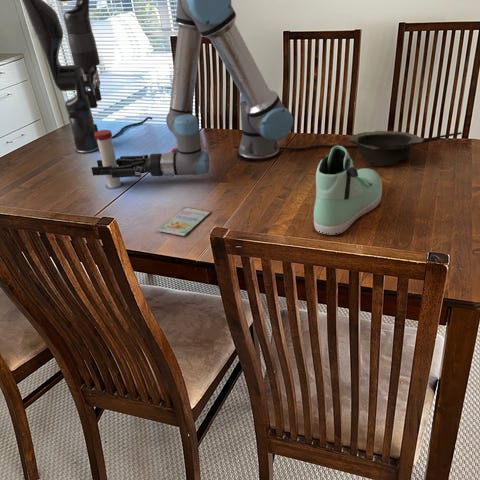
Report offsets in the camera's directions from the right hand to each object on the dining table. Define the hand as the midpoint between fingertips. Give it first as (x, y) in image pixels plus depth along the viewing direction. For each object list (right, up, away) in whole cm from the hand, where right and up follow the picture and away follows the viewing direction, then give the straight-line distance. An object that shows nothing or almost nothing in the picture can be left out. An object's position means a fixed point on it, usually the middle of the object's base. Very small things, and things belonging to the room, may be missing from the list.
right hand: (95, 167), depth 162 cm
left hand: (+4, +18, -12) cm, 22 cm away
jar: (+6, -6, +3) cm, 8 cm away
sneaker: (+80, -15, -23) cm, 85 cm away
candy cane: (+23, +7, +22) cm, 32 cm away
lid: (+4, +10, -7) cm, 13 cm away
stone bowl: (+99, +5, +7) cm, 100 cm away
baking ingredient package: (+33, -19, -23) cm, 45 cm away
